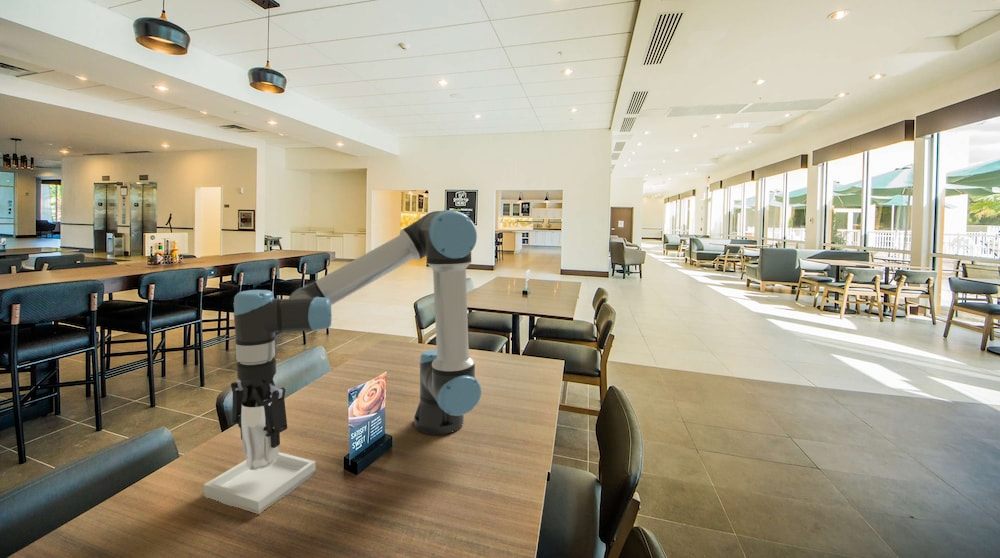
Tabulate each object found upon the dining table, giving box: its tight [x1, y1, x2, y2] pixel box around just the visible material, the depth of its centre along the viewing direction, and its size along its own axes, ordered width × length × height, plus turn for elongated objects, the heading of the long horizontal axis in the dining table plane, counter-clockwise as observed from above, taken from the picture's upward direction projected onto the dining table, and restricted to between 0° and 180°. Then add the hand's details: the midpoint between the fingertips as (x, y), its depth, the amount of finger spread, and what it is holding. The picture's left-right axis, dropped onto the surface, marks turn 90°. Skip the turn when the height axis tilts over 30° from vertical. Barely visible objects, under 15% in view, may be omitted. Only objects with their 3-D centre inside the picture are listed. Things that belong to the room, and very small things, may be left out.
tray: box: [202, 451, 317, 513], centre depth 96 cm, size 16×16×3 cm
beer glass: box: [241, 399, 276, 470], centre depth 95 cm, size 7×7×15 cm
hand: (261, 455), depth 96 cm, fingers closed on beer glass, 6 cm apart
